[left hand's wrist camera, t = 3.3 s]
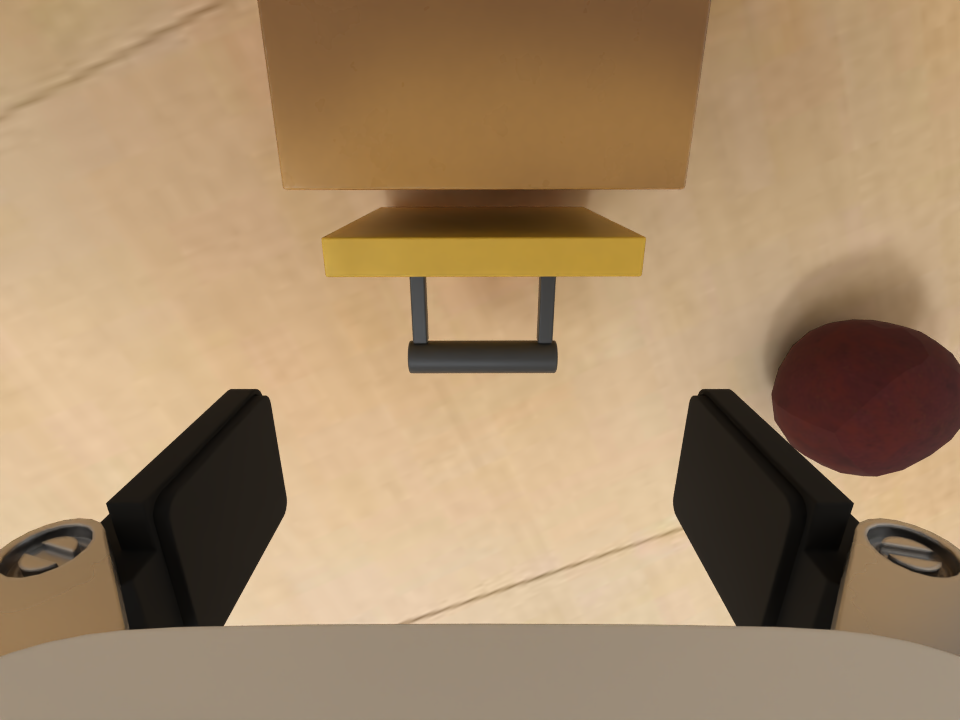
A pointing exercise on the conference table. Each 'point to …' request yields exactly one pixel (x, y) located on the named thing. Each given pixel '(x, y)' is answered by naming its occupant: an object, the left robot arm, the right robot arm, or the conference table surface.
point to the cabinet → (483, 92)
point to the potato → (867, 396)
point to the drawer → (483, 268)
